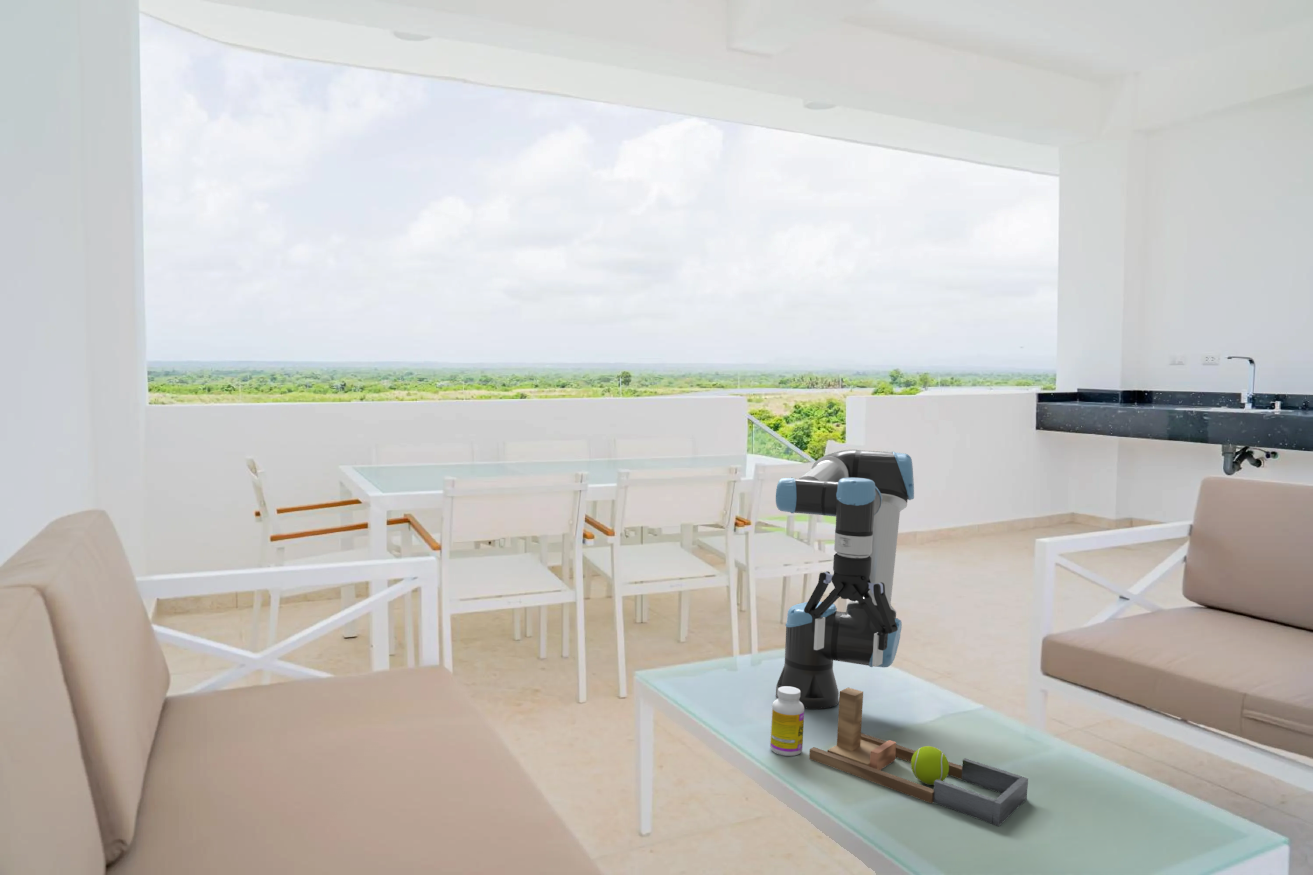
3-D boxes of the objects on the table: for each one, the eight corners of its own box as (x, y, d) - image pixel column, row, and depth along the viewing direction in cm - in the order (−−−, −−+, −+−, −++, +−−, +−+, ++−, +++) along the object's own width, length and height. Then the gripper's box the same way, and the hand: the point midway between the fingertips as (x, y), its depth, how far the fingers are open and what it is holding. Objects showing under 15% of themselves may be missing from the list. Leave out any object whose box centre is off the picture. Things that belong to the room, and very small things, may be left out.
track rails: (847, 737, 187) (847, 728, 187) (965, 776, 170) (965, 766, 170) (809, 758, 175) (809, 749, 175) (931, 803, 158) (932, 792, 158)
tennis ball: (949, 779, 168) (951, 744, 168) (945, 794, 162) (947, 758, 162) (912, 771, 171) (914, 737, 171) (907, 785, 165) (909, 750, 165)
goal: (963, 777, 169) (965, 757, 169) (1026, 798, 161) (1028, 778, 161) (932, 802, 159) (934, 781, 158) (998, 826, 151) (1000, 803, 150)
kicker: (851, 743, 183) (854, 683, 183) (897, 758, 176) (900, 696, 176) (827, 756, 176) (830, 694, 175) (874, 773, 169) (877, 708, 168)
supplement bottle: (801, 758, 175) (804, 697, 174) (768, 754, 176) (771, 693, 176) (802, 745, 182) (805, 686, 181) (771, 742, 183) (774, 682, 182)
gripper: (790, 546, 181) (786, 645, 182) (900, 567, 164) (894, 676, 165) (810, 542, 186) (805, 638, 188) (918, 562, 169) (912, 667, 171)
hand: (847, 656), depth 176 cm, fingers open, 13 cm apart
